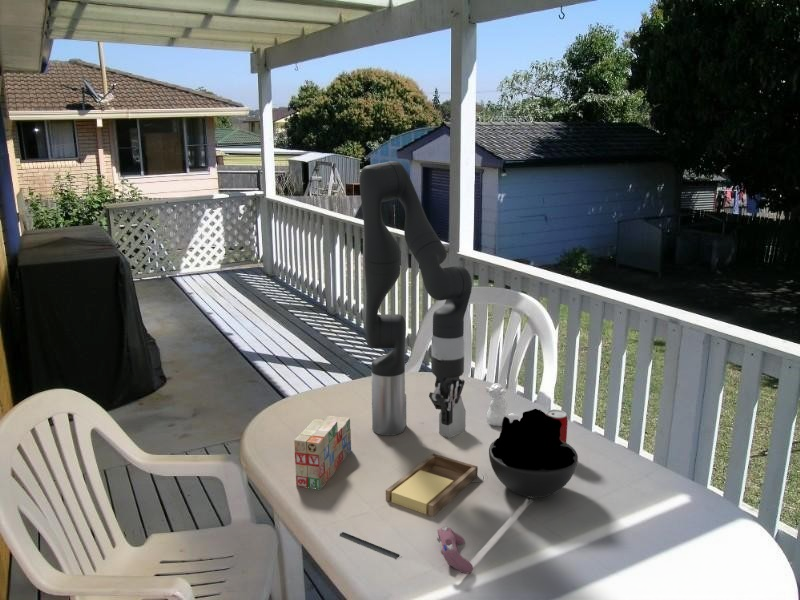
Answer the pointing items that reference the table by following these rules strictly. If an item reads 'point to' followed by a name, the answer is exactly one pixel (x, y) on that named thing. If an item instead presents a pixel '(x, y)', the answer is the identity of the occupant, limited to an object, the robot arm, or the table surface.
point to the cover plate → (420, 491)
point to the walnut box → (444, 468)
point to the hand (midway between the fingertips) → (446, 423)
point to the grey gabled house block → (454, 421)
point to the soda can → (562, 418)
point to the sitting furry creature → (498, 406)
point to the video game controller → (453, 550)
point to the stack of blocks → (321, 450)
